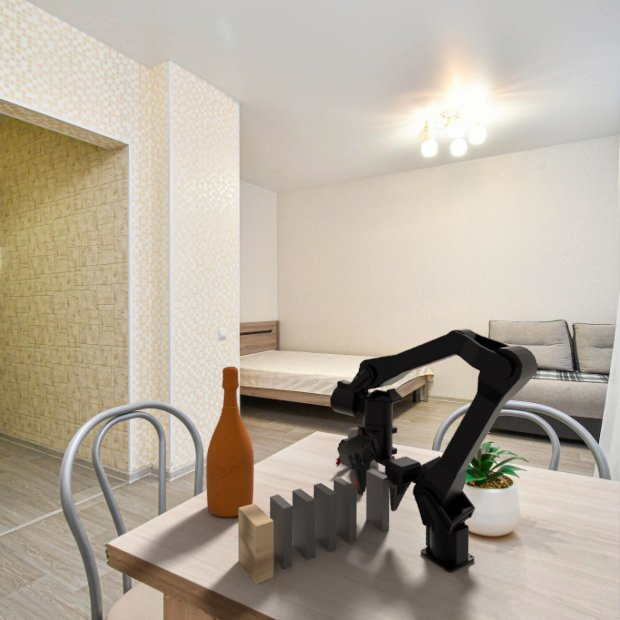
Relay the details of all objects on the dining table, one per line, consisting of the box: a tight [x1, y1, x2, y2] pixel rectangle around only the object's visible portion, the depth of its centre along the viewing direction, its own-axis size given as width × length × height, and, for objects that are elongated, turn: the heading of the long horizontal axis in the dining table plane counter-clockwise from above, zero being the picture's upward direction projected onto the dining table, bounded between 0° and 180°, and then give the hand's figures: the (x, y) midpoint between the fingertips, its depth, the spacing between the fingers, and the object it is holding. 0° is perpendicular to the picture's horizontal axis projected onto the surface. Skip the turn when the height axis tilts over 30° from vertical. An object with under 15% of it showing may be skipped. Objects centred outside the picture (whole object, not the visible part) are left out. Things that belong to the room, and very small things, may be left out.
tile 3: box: [313, 482, 338, 553], centre depth 77 cm, size 5×2×10 cm, turn 32°
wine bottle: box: [205, 366, 255, 518], centre depth 90 cm, size 10×10×30 cm
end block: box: [237, 502, 275, 585], centre depth 69 cm, size 7×3×9 cm, turn 32°
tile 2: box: [333, 477, 358, 545], centre depth 79 cm, size 5×2×10 cm, turn 32°
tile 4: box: [291, 488, 316, 561], centre depth 74 cm, size 5×2×10 cm, turn 32°
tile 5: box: [269, 494, 293, 570], centre depth 72 cm, size 5×2×10 cm, turn 32°
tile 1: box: [365, 469, 390, 532], centre depth 83 cm, size 5×2×10 cm, turn 31°
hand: (377, 500), depth 83 cm, fingers open, 9 cm apart
